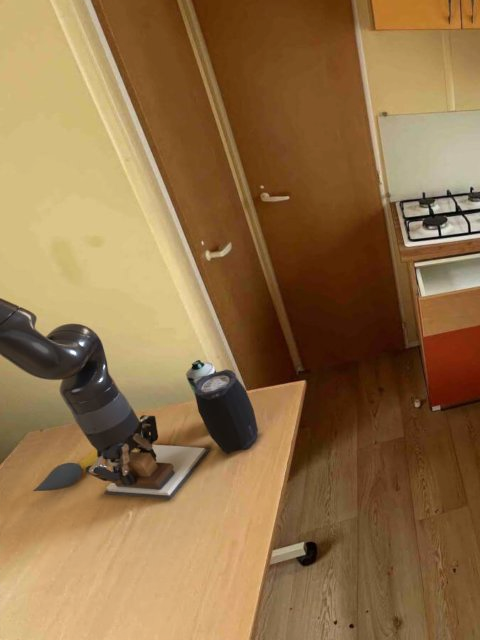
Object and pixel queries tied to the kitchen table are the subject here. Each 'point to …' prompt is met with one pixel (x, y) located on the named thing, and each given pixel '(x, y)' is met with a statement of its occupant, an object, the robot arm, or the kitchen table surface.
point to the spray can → (199, 372)
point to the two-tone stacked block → (148, 472)
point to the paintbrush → (67, 473)
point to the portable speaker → (226, 411)
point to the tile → (183, 468)
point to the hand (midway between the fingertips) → (141, 472)
